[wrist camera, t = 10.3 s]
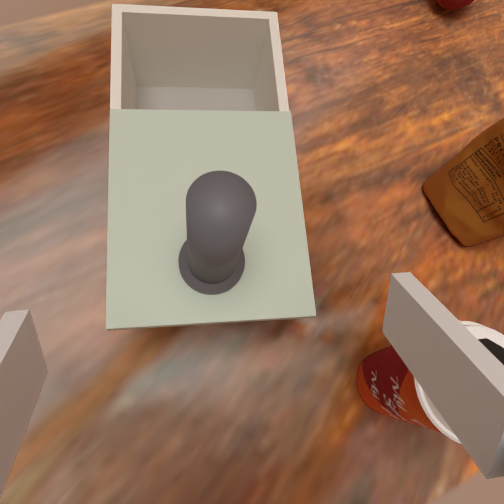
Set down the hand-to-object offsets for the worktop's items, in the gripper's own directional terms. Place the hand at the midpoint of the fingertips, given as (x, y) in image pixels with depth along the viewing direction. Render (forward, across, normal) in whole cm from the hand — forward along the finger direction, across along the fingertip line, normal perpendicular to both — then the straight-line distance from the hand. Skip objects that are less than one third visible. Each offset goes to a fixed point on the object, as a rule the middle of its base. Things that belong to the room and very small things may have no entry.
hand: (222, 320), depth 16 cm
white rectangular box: (+31, +1, -1) cm, 31 cm away
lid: (+16, 0, -2) cm, 16 cm away
